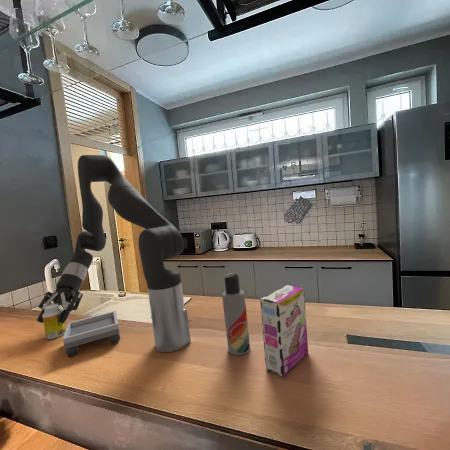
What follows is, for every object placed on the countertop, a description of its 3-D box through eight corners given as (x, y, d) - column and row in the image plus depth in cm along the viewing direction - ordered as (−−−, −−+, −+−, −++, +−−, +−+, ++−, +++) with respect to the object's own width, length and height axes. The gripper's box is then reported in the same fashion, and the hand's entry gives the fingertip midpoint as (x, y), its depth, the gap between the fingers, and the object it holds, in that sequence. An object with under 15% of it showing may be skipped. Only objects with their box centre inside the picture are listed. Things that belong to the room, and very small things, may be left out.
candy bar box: (284, 379, 54) (277, 303, 53) (265, 369, 58) (258, 298, 56) (310, 353, 62) (304, 286, 61) (291, 346, 66) (286, 283, 64)
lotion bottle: (249, 356, 63) (240, 276, 62) (226, 355, 65) (217, 277, 63) (251, 343, 69) (243, 270, 67) (230, 343, 70) (222, 271, 68)
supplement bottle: (61, 337, 85) (56, 307, 84) (42, 341, 83) (37, 310, 82) (68, 329, 90) (63, 301, 89) (50, 333, 89) (45, 304, 88)
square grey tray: (118, 327, 88) (115, 310, 87) (120, 342, 77) (118, 323, 76) (70, 340, 82) (67, 322, 81) (66, 359, 71) (62, 339, 70)
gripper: (49, 273, 94) (23, 318, 84) (82, 272, 90) (59, 318, 80) (64, 282, 100) (41, 325, 90) (95, 281, 96) (75, 326, 86)
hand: (50, 322), depth 85 cm, fingers open, 8 cm apart
